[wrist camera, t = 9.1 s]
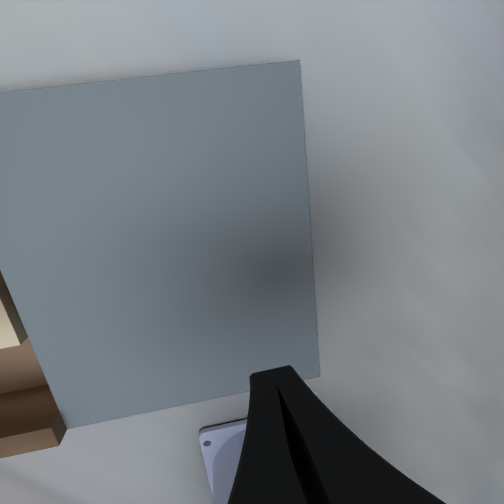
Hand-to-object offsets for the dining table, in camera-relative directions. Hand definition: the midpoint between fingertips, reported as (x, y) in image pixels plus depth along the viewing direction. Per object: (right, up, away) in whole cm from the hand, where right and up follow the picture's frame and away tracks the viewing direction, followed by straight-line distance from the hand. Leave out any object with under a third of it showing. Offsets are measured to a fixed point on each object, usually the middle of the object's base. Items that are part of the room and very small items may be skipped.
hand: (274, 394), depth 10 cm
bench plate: (-5, +5, +8) cm, 10 cm away
